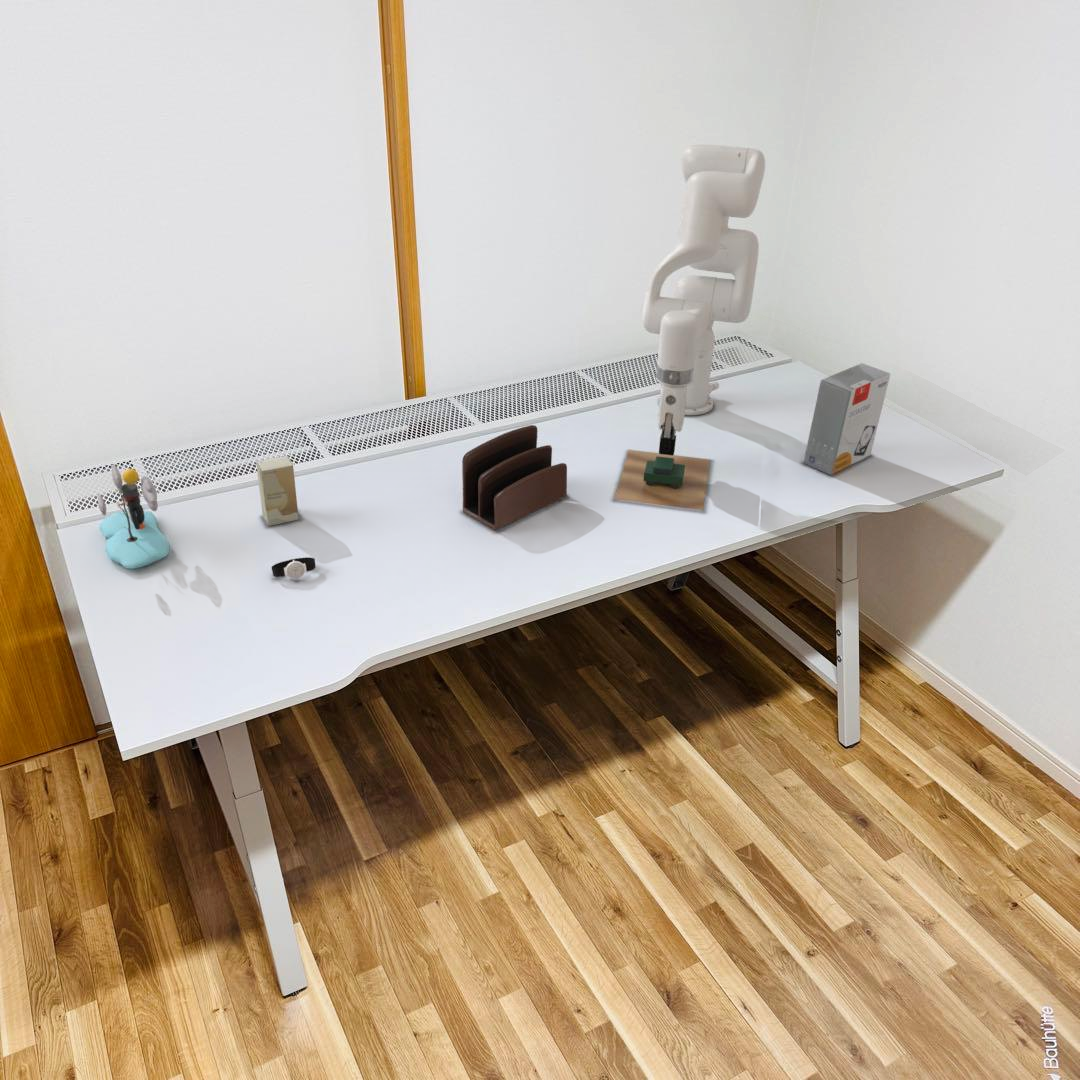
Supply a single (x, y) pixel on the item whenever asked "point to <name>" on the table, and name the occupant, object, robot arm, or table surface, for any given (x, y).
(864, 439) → the hard drive box
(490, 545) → the table surface
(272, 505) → the cosmetic box
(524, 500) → the letter holder
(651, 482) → the green box with feet
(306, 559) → the watch
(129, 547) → the winged figurine
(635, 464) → the wooden board
